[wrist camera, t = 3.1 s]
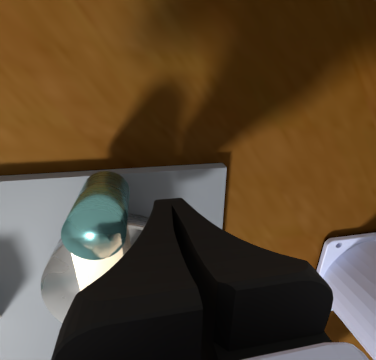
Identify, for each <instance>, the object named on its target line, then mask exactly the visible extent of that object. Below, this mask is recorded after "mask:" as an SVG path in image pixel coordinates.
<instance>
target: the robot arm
mask: <svg viewBox="0 0 376 360" xmlns="http://www.w3.org/2000/svg"><path fill="white" fill-rule="evenodd" d="M331 311H334V312H335V313H336V314H337V316H338V317H339V318H340V319H341V321H342V322H343V323H344V324H345V325H346V327H347V328H348V329H349V330H350V331H351V333H352V334H353V335H354V336H355V338H356V339H357V340H358V341H359V342H360V344H361V345H362V346H363V347H364V348H365V350H366V351H367V352H368V353H369V355H370V356H371V357H372V358H373V359H374V360H376V232H375V233H367V234H359V235H351V236H343V237H335V238H329V239H327V240H326V241H325V243H324V246H323V250H322V253H321V257H320V260H319V264H318V267H317V271H316V270H315V269H314V268H313V267H312V266H311V265H310V264H309V263H308V262H307V261H305V260H301V259H297V258H293V257H289V256H285V255H282V254H278V253H275V252H272V251H269V250H266V249H263V248H260V247H258V246H255V245H252V244H250V243H248V242H246V241H243V240H241V239H239V238H237V237H235V236H233V235H231V234H229V233H228V232H226V231H224V230H222V229H221V228H219V227H217V226H216V225H214V224H213V223H211V222H210V221H209V220H207V219H206V218H205V217H203V216H202V215H201V214H200V213H198V212H197V211H196V210H195V209H194V208H193V207H191V206H190V205H189V204H188V203H187V202H186V201H185V200H184V199H183V198H171V199H159V200H155V201H154V205H153V209H152V212H151V214H150V216H149V219H148V221H147V223H146V225H145V227H144V228H143V230H142V232H141V233H140V235H139V236H138V238H137V239H136V241H135V242H134V243H133V245H132V246H131V247H130V249H129V250H128V251H127V252H126V253H125V254H124V255H123V257H122V258H121V259H120V260H119V261H118V262H117V263H116V264H115V265H114V266H112V267H111V268H110V269H109V270H108V271H107V272H106V273H104V274H103V275H102V276H101V277H99V278H98V279H97V280H95V281H94V282H93V283H91V284H90V285H88V286H87V287H86V288H84V289H83V290H81V291H80V292H78V293H77V294H76V296H75V298H74V299H73V301H72V303H71V305H70V308H69V310H68V312H67V314H66V316H65V318H64V321H63V323H62V326H61V328H60V331H59V334H58V338H57V341H56V345H55V348H54V351H53V355H52V358H51V360H369V359H368V358H367V357H366V355H365V354H364V353H363V352H362V351H360V350H359V349H358V348H356V347H355V346H354V345H353V344H349V343H345V342H332V341H331V340H330V339H329V337H328V336H327V334H326V333H325V332H324V329H325V326H326V323H327V321H328V318H329V315H330V312H331Z"/></svg>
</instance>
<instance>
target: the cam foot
mask: <svg viewBox="0 0 376 360" xmlns="http://www.w3.org/2000/svg"><path fill="white" fill-rule="evenodd" d="M129 196H130V189H129V185H128V183H127V182H126V180H125V179H124V178H123V177H122V176H120V175H119V174H117V173H114V172H111V171H100V172H97V173H94V174H92V175H91V176H90V177H89V178H88V179H87V180H86V182H85V183H84V185H83V187H82V189H81V191H80V193H79V195H78V197H77V199H76V201H75V203H74V205H73V207H72V209H71V211H70V213H69V215H68V216H67V218H66V220H65V222H64V224H63V226H62V230H61V240H60V241H59V242H58V244H57V245H56V247H55V249H54V251H53V253H52V255H51V257H50V259H49V261H48V263H47V265H46V267H45V269H44V272H43V275H42V279H41V294H42V298H43V301H44V303H45V305H46V307H47V308H48V310H49V311H50V313H51V314H52V315H53V316H54V317H55V318H56V319H58V320H59V321H60V322H61V323H63V321H64V318H65V316H66V314H67V312H68V310H69V308H70V305H71V303H72V301H73V299H74V298H75V296H76V294H77V293H78V292H80V291H81V290H83V289H84V288H86V287H87V286H88V285H90V284H91V283H93V282H94V281H95V280H97V279H98V278H99V277H101V276H102V275H103V274H104V273H106V272H107V271H108V270H109V269H110V268H111V267H112V266H114V265H115V264H116V263H117V262H118V261H119V260H120V259H121V258H122V257H123V255H124V254H125V253H126V252H127V251H128V250H129V249H130V247H131V246H132V245H133V243H134V242H135V241H136V239H137V238H138V236H139V235H140V233H141V232H142V230H143V228H144V227H145V225H146V223H147V221H148V219H149V218H147V217H144V216H140V215H135V214H128V208H129Z"/></svg>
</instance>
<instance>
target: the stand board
mask: <svg viewBox="0 0 376 360" xmlns="http://www.w3.org/2000/svg"><path fill="white" fill-rule="evenodd" d="M100 171H111V172H114V173H117V174H119V175H120V176H122V177H123V178H124V179H125V180H126V182H127V183H128V185H129V189H130V196H129V208H128V214H135V215H140V216H144V217H147V218H149V216H150V214H151V212H152V209H153V205H154V201H155V200H159V199H171V198H183V199H184V200H185V201H186V202H187V203H188V204H189V205H190V206H191V207H193V208H194V209H195V210H196V211H197V212H198V213H200V214H201V215H202V216H203V217H205V218H206V219H207V220H209V221H210V222H211V223H213V224H214V225H216V226H217V227H219V228H221V229H222V226H223V213H224V199H225V186H226V172H227V167H226V166H225V165H224V164H223V163H210V164H193V165H176V166H159V167H142V168H125V169H108V170H91V171H74V172H57V173H40V174H23V175H6V176H0V315H1V318H0V360H51V358H52V355H53V351H54V348H55V345H56V341H57V338H58V334H59V331H60V328H61V326H62V323H61V322H60V321H59V320H58V319H56V318H55V317H54V316H53V315H52V314H51V313H50V311H49V310H48V308H47V307H46V305H45V303H44V301H43V298H42V294H41V279H42V275H43V272H44V269H45V267H46V265H47V263H48V261H49V259H50V257H51V255H52V253H53V251H54V249H55V247H56V245H57V244H58V242H59V241H60V240H61V230H62V226H63V224H64V222H65V220H66V218H67V216H68V215H69V213H70V211H71V209H72V207H73V205H74V203H75V201H76V199H77V197H78V195H79V193H80V191H81V189H82V187H83V185H84V183H85V182H86V180H87V179H88V178H89V177H90V176H91V175H92V174H94V173H97V172H100Z"/></svg>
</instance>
